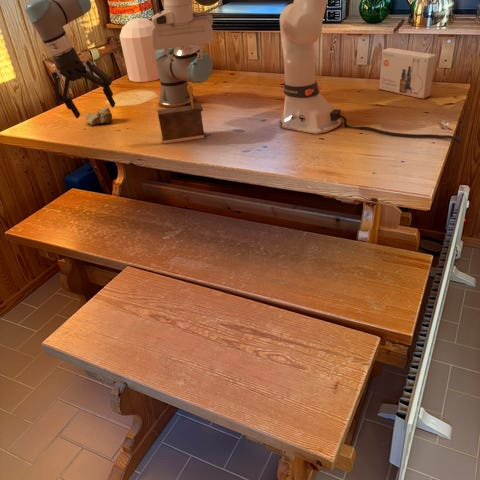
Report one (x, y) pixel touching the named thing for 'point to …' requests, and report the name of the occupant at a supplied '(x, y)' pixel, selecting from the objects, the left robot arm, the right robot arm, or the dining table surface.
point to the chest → (181, 127)
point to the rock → (99, 117)
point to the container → (139, 50)
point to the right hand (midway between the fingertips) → (185, 60)
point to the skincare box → (407, 72)
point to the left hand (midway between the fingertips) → (96, 111)
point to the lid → (181, 109)
